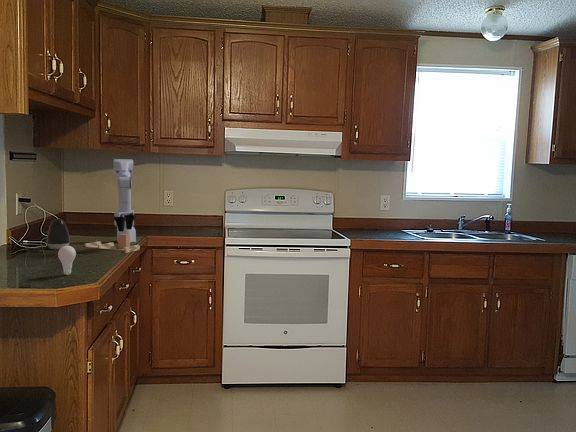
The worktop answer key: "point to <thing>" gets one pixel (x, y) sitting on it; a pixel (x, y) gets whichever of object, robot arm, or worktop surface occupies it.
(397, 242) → the worktop surface
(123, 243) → the block
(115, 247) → the notched rack
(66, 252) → the lightbulb
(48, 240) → the dark grey dome
